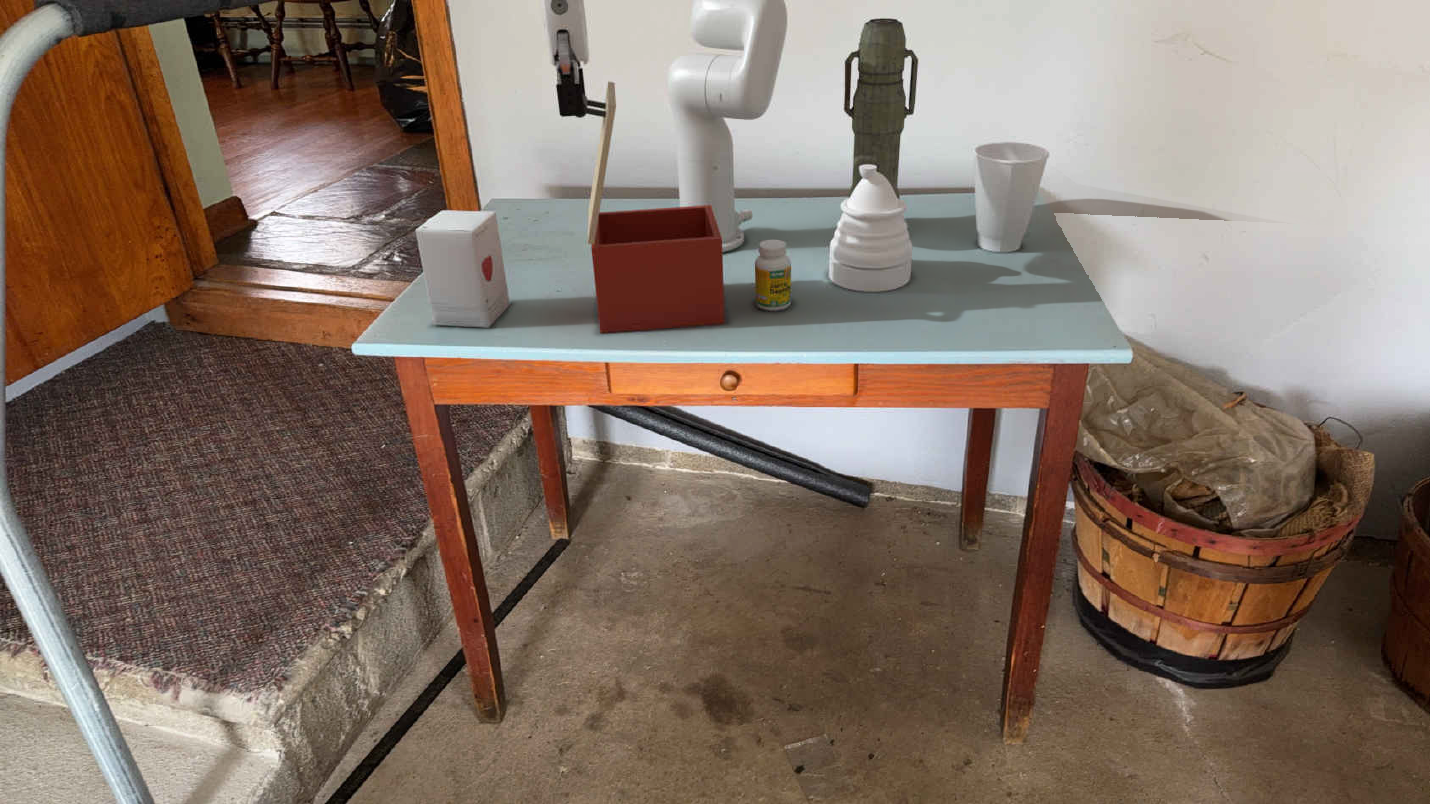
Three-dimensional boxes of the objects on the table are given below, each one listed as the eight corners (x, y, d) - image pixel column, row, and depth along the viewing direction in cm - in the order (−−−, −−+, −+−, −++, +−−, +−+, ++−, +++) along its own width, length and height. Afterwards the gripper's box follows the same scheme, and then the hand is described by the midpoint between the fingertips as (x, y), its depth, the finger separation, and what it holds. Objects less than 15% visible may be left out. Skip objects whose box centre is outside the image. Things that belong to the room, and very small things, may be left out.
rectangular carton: (489, 329, 135) (472, 231, 128) (432, 326, 137) (412, 229, 129) (512, 304, 143) (497, 210, 135) (457, 301, 144) (440, 208, 137)
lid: (614, 82, 130) (576, 74, 129) (616, 105, 117) (573, 97, 116) (594, 210, 139) (558, 203, 138) (594, 244, 126) (554, 238, 125)
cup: (1033, 234, 161) (1046, 142, 153) (1037, 259, 151) (1052, 162, 143) (963, 231, 164) (972, 140, 156) (963, 255, 154) (973, 160, 146)
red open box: (713, 284, 147) (710, 204, 140) (724, 323, 134) (722, 238, 128) (600, 292, 146) (592, 212, 139) (600, 333, 133) (591, 247, 126)
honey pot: (880, 298, 140) (887, 181, 131) (812, 278, 148) (815, 166, 139) (925, 273, 148) (935, 161, 139) (859, 255, 156) (864, 148, 147)
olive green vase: (835, 220, 171) (842, 18, 154) (899, 218, 171) (913, 15, 154) (843, 237, 163) (851, 25, 146) (909, 234, 164) (925, 22, 146)
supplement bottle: (776, 294, 143) (776, 235, 138) (798, 305, 139) (798, 244, 134) (748, 303, 140) (747, 243, 135) (769, 314, 136) (768, 253, 131)
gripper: (586, -28, 108) (601, 120, 117) (587, -41, 123) (601, 91, 132) (521, -24, 108) (541, 124, 117) (531, -38, 123) (548, 94, 131)
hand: (573, 106), depth 124 cm, fingers open, 9 cm apart
